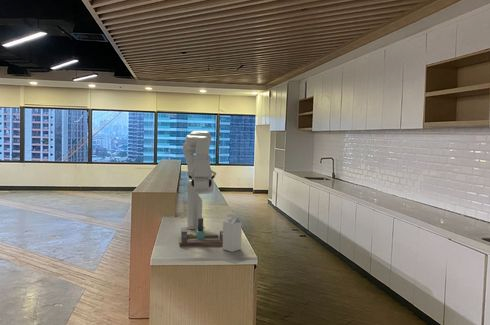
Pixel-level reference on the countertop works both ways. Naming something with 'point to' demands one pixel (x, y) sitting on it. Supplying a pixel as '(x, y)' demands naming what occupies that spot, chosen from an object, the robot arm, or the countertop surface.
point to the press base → (207, 241)
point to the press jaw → (200, 229)
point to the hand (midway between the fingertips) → (201, 186)
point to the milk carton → (232, 233)
